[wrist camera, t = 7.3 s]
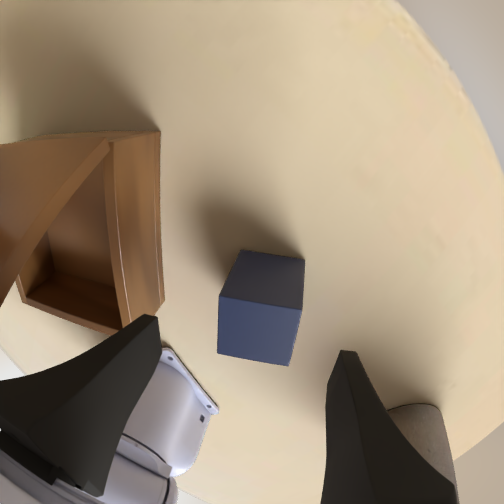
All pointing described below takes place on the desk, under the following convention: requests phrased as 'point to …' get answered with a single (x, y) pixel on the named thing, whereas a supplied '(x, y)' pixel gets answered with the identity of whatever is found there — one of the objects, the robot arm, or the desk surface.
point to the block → (261, 307)
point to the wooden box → (103, 240)
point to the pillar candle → (426, 436)
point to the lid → (38, 193)
